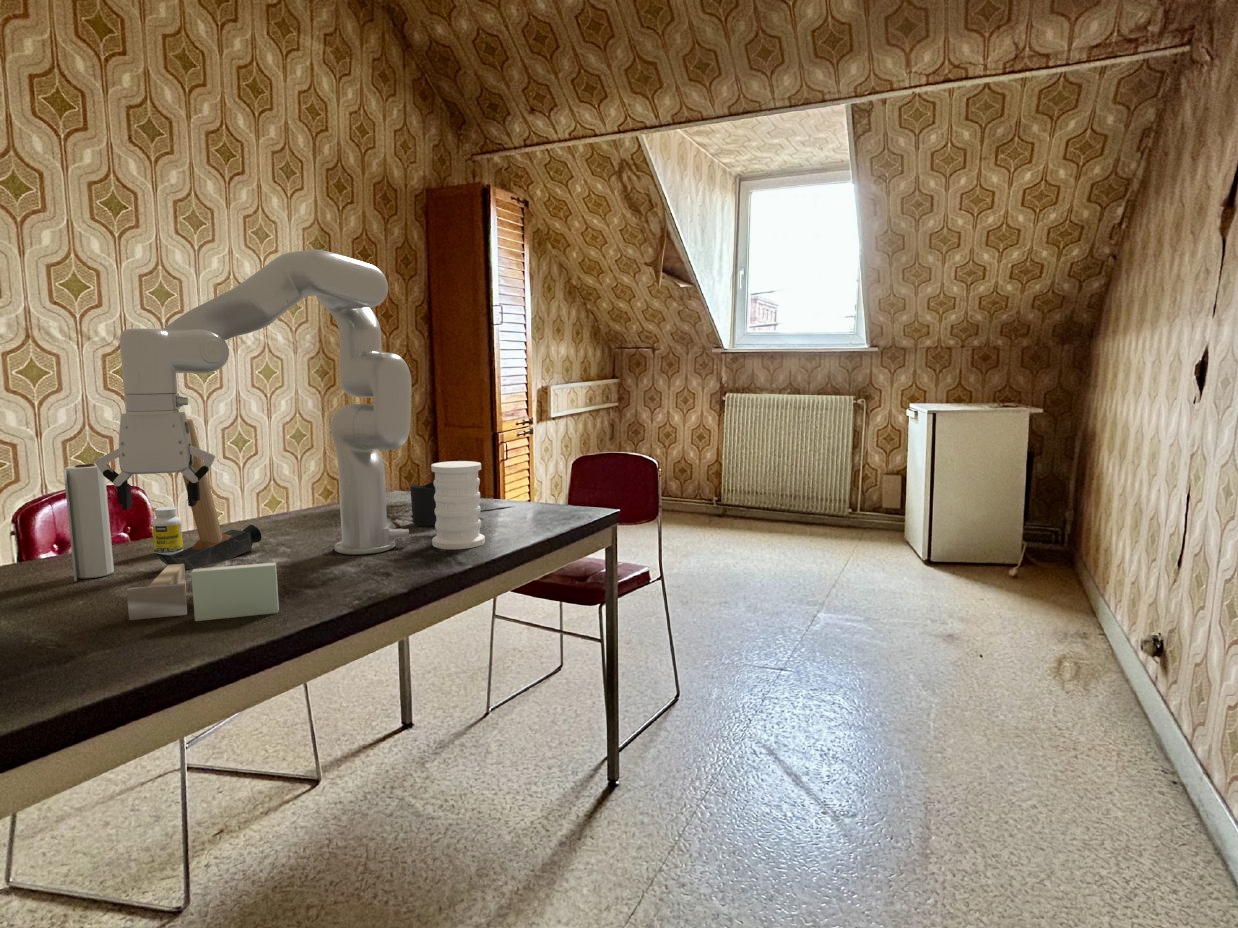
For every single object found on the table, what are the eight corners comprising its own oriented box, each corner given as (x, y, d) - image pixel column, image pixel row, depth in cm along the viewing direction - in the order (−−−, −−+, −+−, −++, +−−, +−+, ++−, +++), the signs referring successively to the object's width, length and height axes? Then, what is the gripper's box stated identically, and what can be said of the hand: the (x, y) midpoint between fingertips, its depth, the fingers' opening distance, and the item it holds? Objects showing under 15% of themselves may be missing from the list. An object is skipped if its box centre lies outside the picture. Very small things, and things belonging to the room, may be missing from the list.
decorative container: (457, 535, 179) (454, 459, 177) (495, 541, 173) (493, 462, 171) (421, 545, 169) (418, 465, 167) (460, 551, 163) (457, 469, 161)
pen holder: (444, 527, 188) (443, 487, 186) (407, 527, 188) (405, 487, 187) (453, 519, 197) (452, 481, 196) (417, 519, 197) (416, 481, 196)
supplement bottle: (153, 557, 160) (149, 511, 158) (155, 551, 164) (151, 507, 163) (183, 554, 162) (179, 509, 161) (184, 548, 167) (180, 505, 166)
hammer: (178, 583, 148) (136, 435, 139) (161, 580, 150) (119, 434, 141) (264, 543, 165) (231, 409, 156) (248, 541, 167) (215, 408, 158)
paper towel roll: (108, 568, 151) (97, 462, 148) (118, 574, 147) (108, 464, 144) (64, 576, 145) (53, 466, 142) (74, 582, 141) (63, 468, 138)
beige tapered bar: (153, 593, 134) (150, 566, 134) (203, 589, 137) (201, 562, 136) (129, 620, 120) (126, 589, 120) (186, 614, 123) (183, 584, 122)
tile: (279, 609, 126) (275, 562, 125) (277, 613, 124) (274, 565, 123) (197, 617, 122) (193, 569, 121) (195, 621, 120) (191, 572, 119)
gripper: (215, 402, 131) (221, 500, 133) (98, 404, 126) (107, 506, 128) (206, 405, 124) (213, 507, 126) (82, 406, 119) (92, 514, 121)
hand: (160, 506), depth 127 cm, fingers open, 9 cm apart
